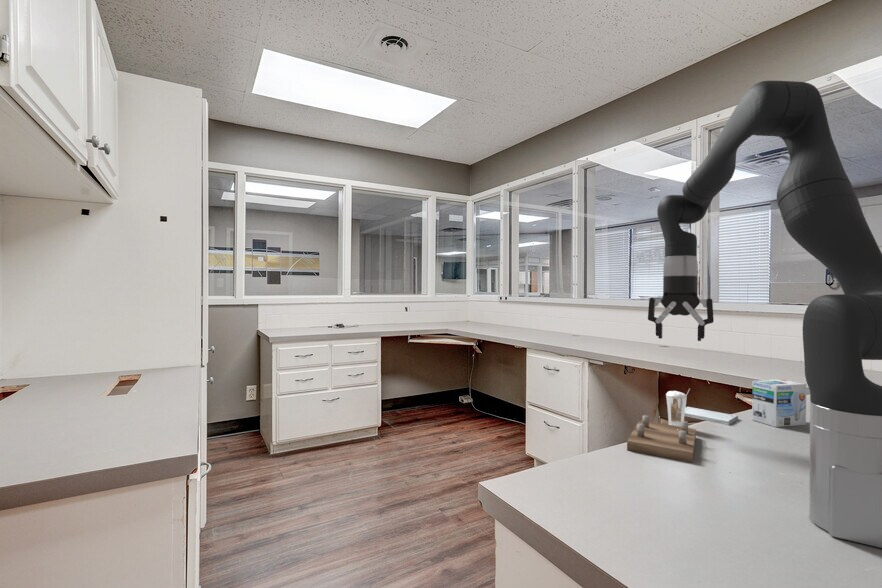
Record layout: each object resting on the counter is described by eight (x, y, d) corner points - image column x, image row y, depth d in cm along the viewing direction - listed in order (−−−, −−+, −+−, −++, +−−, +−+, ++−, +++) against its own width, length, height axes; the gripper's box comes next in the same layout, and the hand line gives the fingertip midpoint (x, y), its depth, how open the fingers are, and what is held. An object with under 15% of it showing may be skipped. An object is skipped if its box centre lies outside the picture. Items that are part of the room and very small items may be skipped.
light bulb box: (776, 428, 107) (776, 385, 107) (750, 420, 113) (751, 380, 113) (807, 425, 109) (807, 383, 110) (780, 417, 116) (780, 378, 116)
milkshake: (693, 431, 103) (693, 390, 103) (669, 429, 104) (669, 389, 104) (686, 425, 107) (686, 386, 107) (663, 424, 108) (663, 385, 108)
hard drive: (738, 415, 114) (688, 405, 123) (728, 421, 108) (676, 410, 118) (738, 421, 114) (688, 411, 123) (728, 427, 108) (676, 416, 118)
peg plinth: (692, 462, 83) (692, 439, 83) (627, 449, 90) (627, 428, 90) (695, 437, 98) (695, 418, 98) (639, 428, 105) (639, 410, 105)
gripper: (646, 274, 106) (646, 338, 106) (714, 273, 99) (713, 343, 99) (650, 276, 113) (650, 336, 113) (714, 275, 105) (713, 340, 105)
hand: (679, 339), depth 106 cm, fingers open, 8 cm apart
